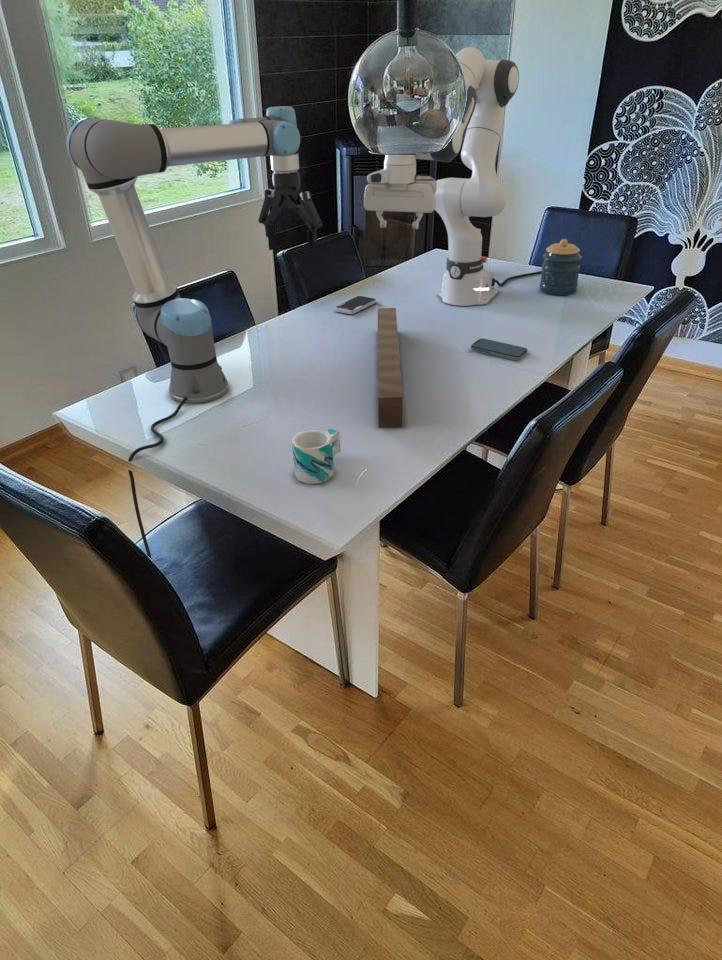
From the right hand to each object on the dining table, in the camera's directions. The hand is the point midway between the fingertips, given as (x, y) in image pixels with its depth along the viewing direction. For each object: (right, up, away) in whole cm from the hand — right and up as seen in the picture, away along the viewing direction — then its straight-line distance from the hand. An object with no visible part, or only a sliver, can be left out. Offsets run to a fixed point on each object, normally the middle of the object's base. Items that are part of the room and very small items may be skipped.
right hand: (399, 228), depth 191 cm
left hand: (-31, -6, +3) cm, 32 cm away
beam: (-3, -43, -7) cm, 43 cm away
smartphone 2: (+29, -35, +2) cm, 45 cm away
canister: (+59, -4, +47) cm, 76 cm away
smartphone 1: (-13, -12, +40) cm, 44 cm away
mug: (-20, -70, -48) cm, 87 cm away
